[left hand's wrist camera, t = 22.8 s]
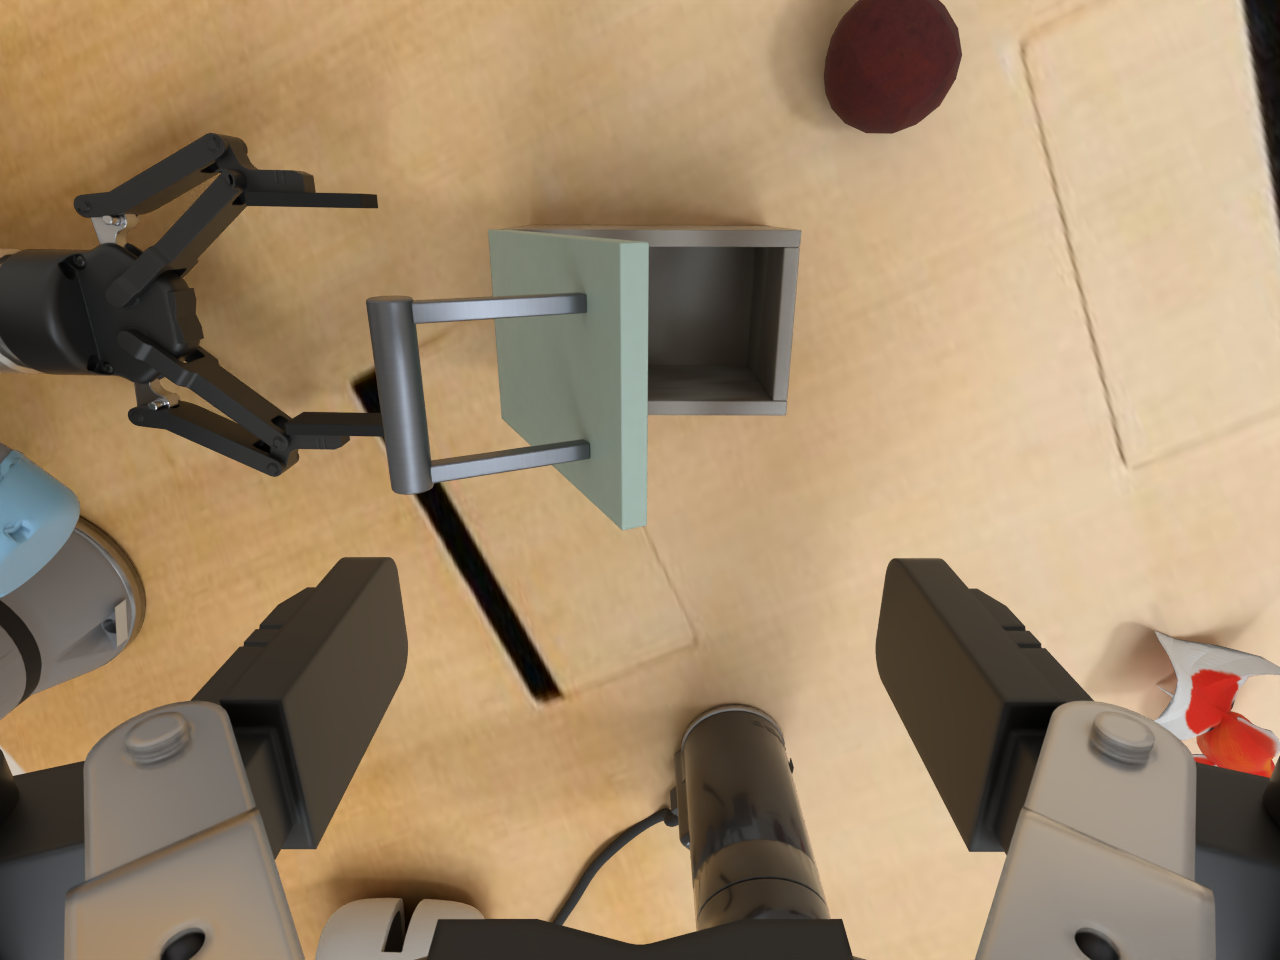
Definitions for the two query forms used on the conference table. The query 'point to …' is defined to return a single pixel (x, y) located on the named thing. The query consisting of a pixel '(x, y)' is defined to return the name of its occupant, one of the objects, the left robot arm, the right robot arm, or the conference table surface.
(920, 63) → the potato
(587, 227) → the chest
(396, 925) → the grey lobed block
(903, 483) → the conference table surface
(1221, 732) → the white red irregular piece
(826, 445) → the conference table surface
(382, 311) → the lid
